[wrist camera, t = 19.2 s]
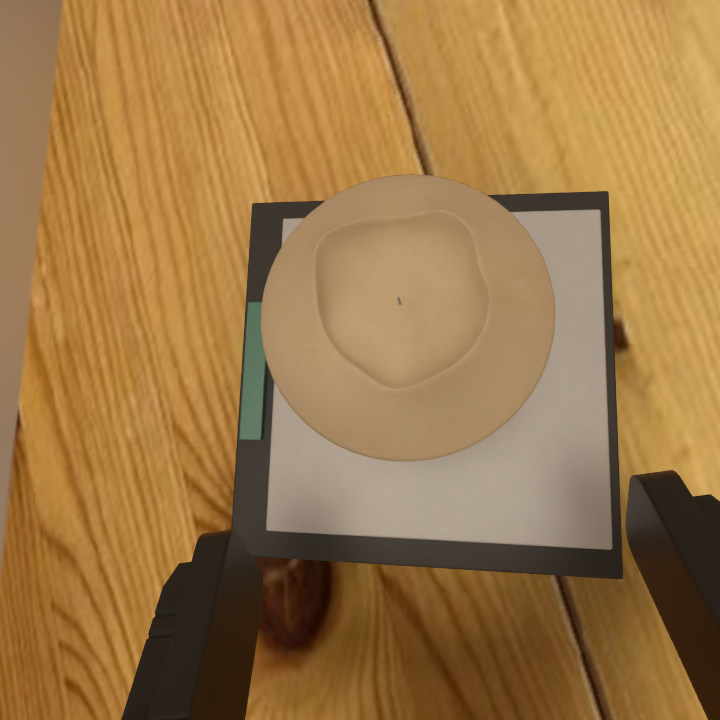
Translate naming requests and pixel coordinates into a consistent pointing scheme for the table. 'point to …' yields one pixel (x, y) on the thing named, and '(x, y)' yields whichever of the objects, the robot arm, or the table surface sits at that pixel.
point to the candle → (408, 318)
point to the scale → (467, 467)
